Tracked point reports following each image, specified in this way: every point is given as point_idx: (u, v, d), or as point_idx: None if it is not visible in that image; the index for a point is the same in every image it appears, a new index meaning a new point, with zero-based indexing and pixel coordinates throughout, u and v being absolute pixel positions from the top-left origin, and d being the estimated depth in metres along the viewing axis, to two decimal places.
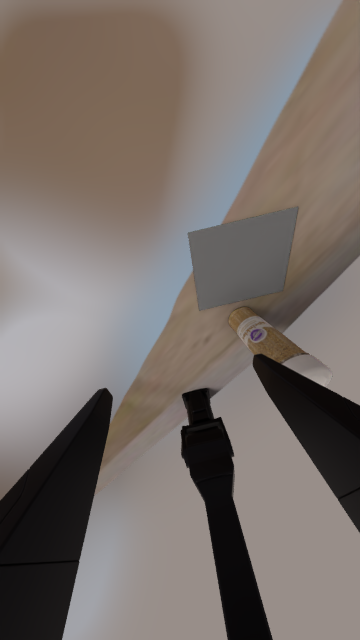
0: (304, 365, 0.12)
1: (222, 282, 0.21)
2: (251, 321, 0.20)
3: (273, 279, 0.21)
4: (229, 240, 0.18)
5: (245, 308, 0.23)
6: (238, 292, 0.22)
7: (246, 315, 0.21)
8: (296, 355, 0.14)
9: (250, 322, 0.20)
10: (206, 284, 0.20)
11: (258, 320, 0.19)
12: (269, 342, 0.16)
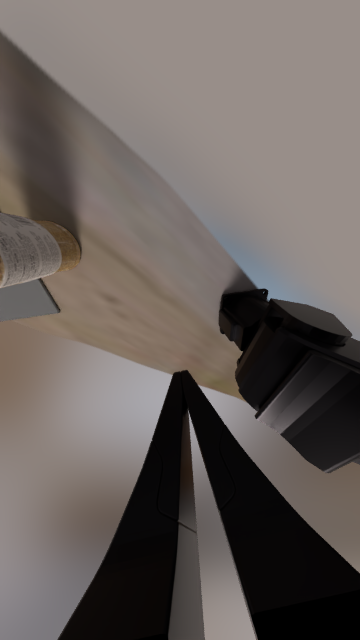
0: None
1: None
2: None
3: None
4: None
5: None
6: None
7: None
8: None
9: None
10: (16, 306, 0.16)
11: None
12: None
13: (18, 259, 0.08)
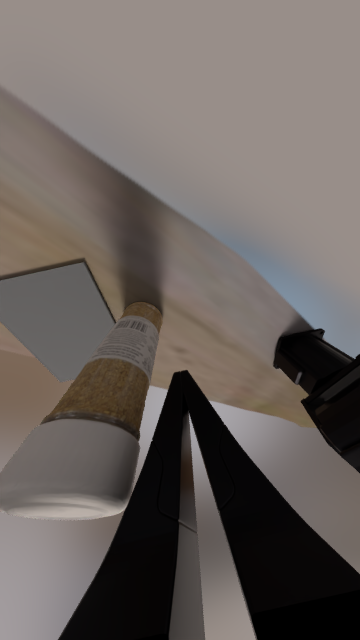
0: None
1: None
2: None
3: (70, 287, 0.14)
4: (50, 352, 0.17)
5: None
6: (104, 331, 0.16)
7: None
8: None
9: None
10: None
11: None
12: None
13: (151, 373, 0.10)
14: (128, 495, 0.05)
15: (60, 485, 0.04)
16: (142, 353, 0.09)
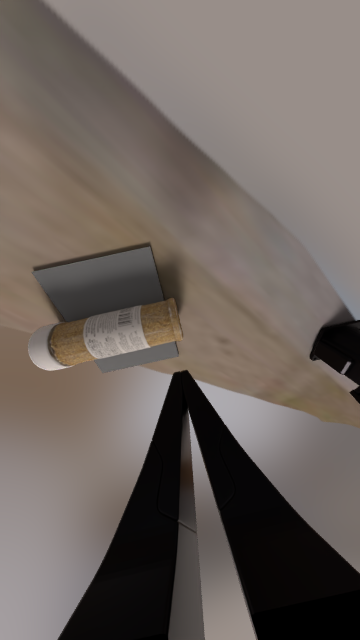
0: None
1: None
2: None
3: (132, 272, 0.13)
4: None
5: None
6: None
7: None
8: None
9: None
10: (147, 354, 0.19)
11: None
12: None
13: (101, 353, 0.12)
14: (37, 365, 0.12)
15: (30, 338, 0.12)
16: (97, 335, 0.12)
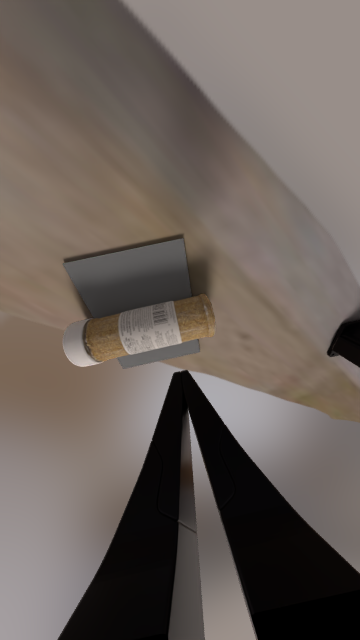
0: None
1: None
2: None
3: (163, 265, 0.13)
4: None
5: None
6: None
7: None
8: None
9: None
10: (169, 350, 0.19)
11: None
12: None
13: (136, 350, 0.13)
14: (74, 363, 0.12)
15: (63, 336, 0.12)
16: (133, 334, 0.12)
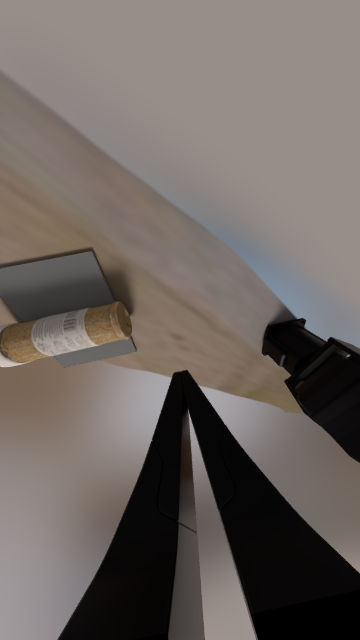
0: None
1: None
2: None
3: (78, 274, 0.15)
4: None
5: None
6: None
7: None
8: None
9: None
10: (105, 350, 0.20)
11: None
12: None
13: (53, 352, 0.14)
14: None
15: None
16: (45, 339, 0.13)
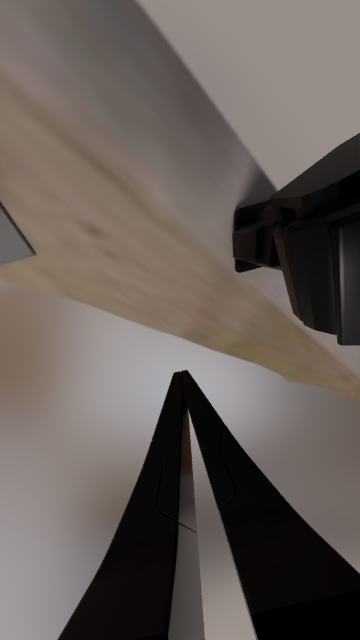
0: None
1: None
2: None
3: None
4: None
5: None
6: None
7: None
8: None
9: None
10: None
11: None
12: None
13: None
14: None
15: None
16: None
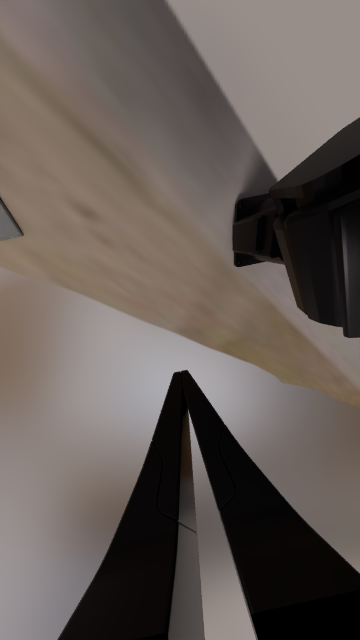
0: None
1: None
2: None
3: None
4: None
5: None
6: None
7: None
8: None
9: None
10: None
11: None
12: None
13: None
14: None
15: None
16: None
